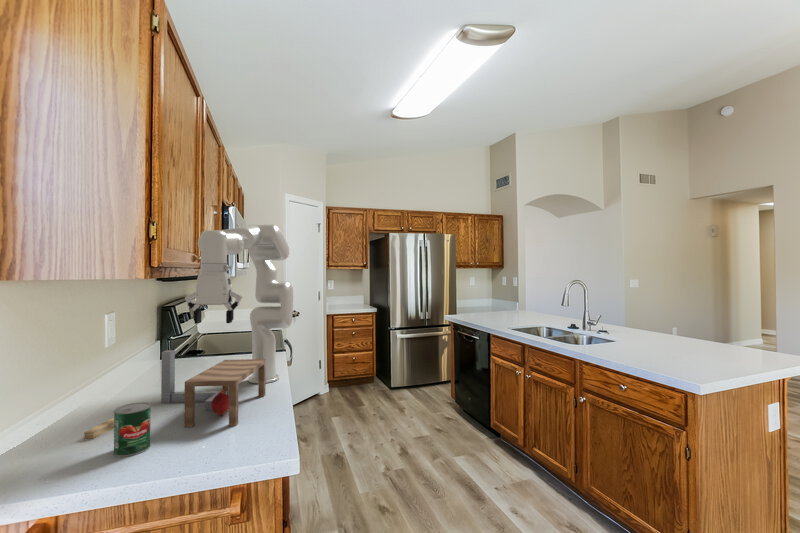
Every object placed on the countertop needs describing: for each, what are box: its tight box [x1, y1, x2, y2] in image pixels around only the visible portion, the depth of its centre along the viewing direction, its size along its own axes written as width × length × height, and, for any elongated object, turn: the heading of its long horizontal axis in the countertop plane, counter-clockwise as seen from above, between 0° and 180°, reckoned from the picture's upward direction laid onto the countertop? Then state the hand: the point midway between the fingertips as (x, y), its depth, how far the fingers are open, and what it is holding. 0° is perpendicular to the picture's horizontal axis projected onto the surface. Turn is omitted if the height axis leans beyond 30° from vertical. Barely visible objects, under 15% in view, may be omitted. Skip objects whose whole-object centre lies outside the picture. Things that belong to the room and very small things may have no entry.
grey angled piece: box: [160, 349, 227, 411], centre depth 131 cm, size 12×22×18 cm, turn 93°
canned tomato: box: [113, 401, 152, 458], centre depth 98 cm, size 8×8×11 cm
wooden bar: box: [83, 416, 114, 440], centre depth 111 cm, size 14×2×2 cm, turn 1°
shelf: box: [183, 358, 267, 428], centre depth 127 cm, size 29×15×14 cm, turn 3°
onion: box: [211, 389, 229, 416], centre depth 121 cm, size 6×6×8 cm
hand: (213, 323), depth 120 cm, fingers open, 9 cm apart
